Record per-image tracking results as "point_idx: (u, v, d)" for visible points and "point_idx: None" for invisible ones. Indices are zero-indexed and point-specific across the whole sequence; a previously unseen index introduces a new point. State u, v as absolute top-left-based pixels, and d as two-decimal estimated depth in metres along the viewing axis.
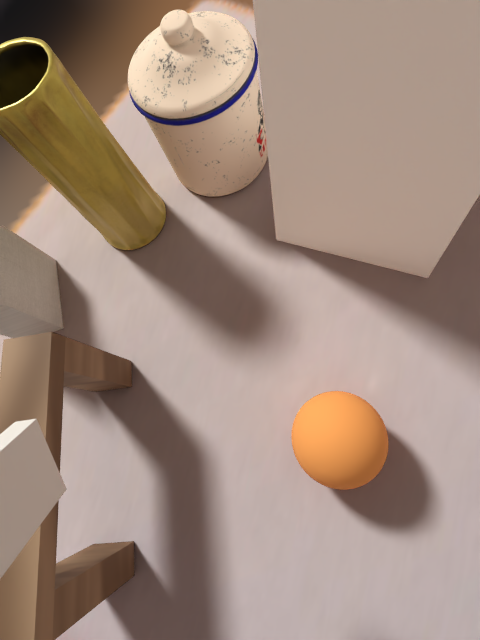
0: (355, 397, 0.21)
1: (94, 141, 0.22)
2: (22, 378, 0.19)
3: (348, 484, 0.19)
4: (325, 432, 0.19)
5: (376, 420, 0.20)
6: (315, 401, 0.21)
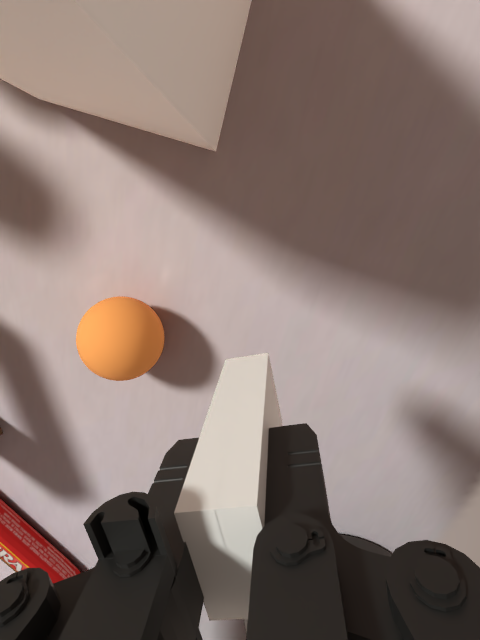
0: (123, 308, 0.22)
1: None
2: None
3: (123, 379, 0.23)
4: (89, 349, 0.21)
5: (140, 330, 0.22)
6: (87, 316, 0.22)
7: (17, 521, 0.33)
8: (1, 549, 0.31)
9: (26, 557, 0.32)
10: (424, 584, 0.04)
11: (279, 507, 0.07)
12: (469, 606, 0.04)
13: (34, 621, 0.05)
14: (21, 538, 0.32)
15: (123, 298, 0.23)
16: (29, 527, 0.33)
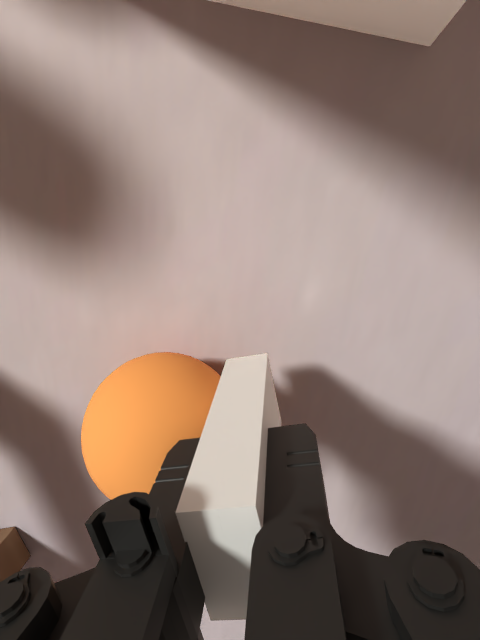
0: (132, 392, 0.11)
1: None
2: None
3: None
4: None
5: (143, 449, 0.10)
6: None
7: None
8: None
9: None
10: (422, 584, 0.04)
11: (278, 507, 0.07)
12: (467, 606, 0.04)
13: (35, 621, 0.05)
14: None
15: (155, 364, 0.12)
16: None
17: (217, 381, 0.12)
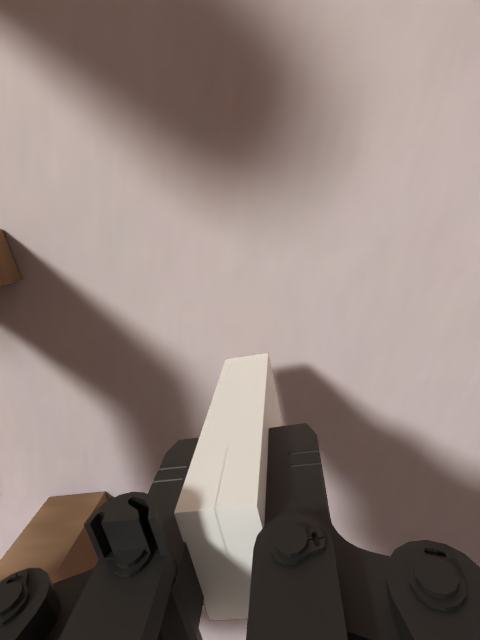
0: None
1: None
2: None
3: None
4: None
5: None
6: None
7: None
8: None
9: None
10: (423, 584, 0.04)
11: (279, 507, 0.07)
12: (468, 606, 0.04)
13: (34, 621, 0.05)
14: None
15: None
16: None
17: None
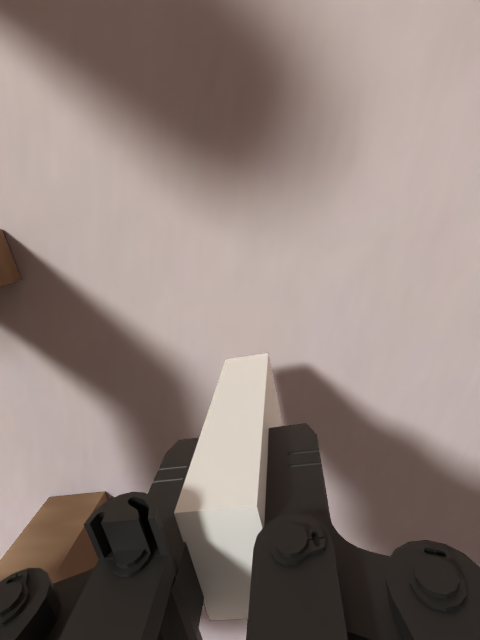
0: None
1: None
2: None
3: None
4: None
5: None
6: None
7: None
8: None
9: None
10: (423, 584, 0.04)
11: (279, 507, 0.07)
12: (468, 606, 0.04)
13: (34, 621, 0.05)
14: None
15: None
16: None
17: None
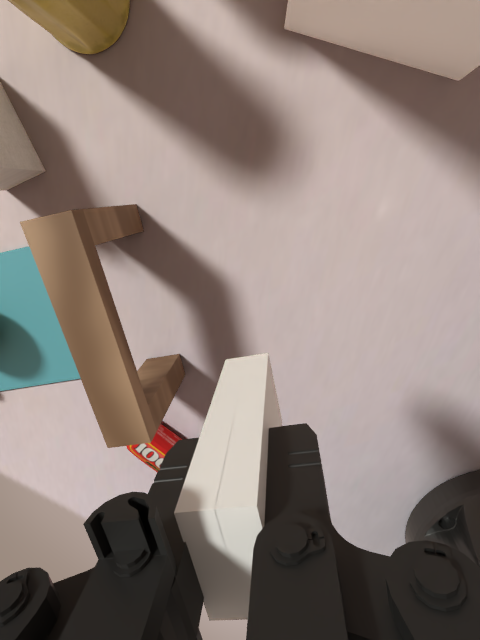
0: None
1: None
2: (59, 260, 0.20)
3: None
4: None
5: None
6: None
7: None
8: None
9: None
10: (424, 584, 0.04)
11: (279, 507, 0.07)
12: (469, 606, 0.04)
13: (34, 621, 0.05)
14: None
15: None
16: None
17: None
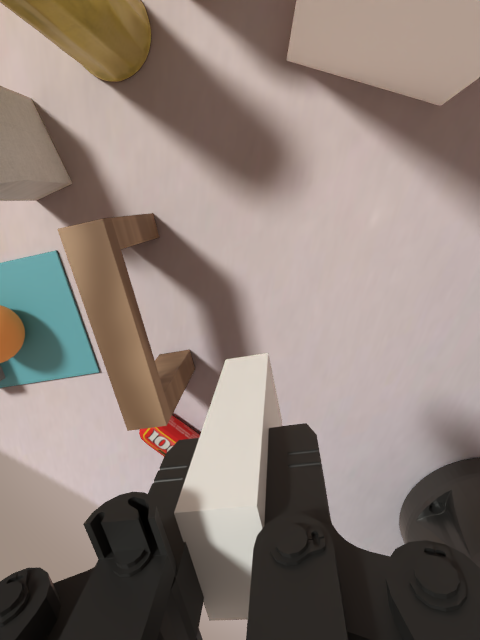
0: None
1: None
2: (91, 262, 0.23)
3: None
4: (14, 321, 0.32)
5: None
6: None
7: None
8: None
9: None
10: (424, 584, 0.04)
11: (279, 507, 0.07)
12: (469, 606, 0.04)
13: (34, 621, 0.05)
14: None
15: None
16: None
17: None
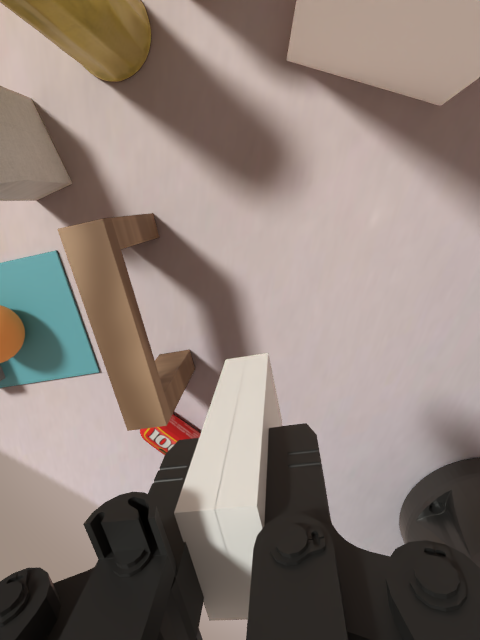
0: None
1: None
2: (91, 262, 0.23)
3: None
4: (14, 321, 0.32)
5: None
6: None
7: None
8: None
9: None
10: (424, 584, 0.04)
11: (279, 507, 0.07)
12: (469, 606, 0.04)
13: (34, 621, 0.05)
14: None
15: None
16: None
17: None
